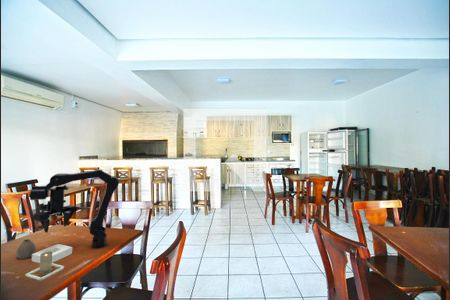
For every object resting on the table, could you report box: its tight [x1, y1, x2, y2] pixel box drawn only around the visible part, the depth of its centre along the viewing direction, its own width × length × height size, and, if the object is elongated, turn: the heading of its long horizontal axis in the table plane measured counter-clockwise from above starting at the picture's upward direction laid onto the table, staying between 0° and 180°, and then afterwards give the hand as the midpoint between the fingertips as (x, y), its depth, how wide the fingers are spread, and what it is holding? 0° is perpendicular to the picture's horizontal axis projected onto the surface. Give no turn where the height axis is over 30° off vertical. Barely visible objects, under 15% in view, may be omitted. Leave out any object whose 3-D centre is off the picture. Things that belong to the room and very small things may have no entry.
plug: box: [39, 252, 53, 275], centre depth 96 cm, size 4×4×8 cm
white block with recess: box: [31, 243, 73, 264], centre depth 108 cm, size 12×10×4 cm
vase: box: [16, 238, 37, 260], centre depth 108 cm, size 7×7×9 cm
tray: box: [24, 262, 66, 282], centre depth 96 cm, size 10×9×2 cm
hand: (55, 229), depth 113 cm, fingers open, 9 cm apart
